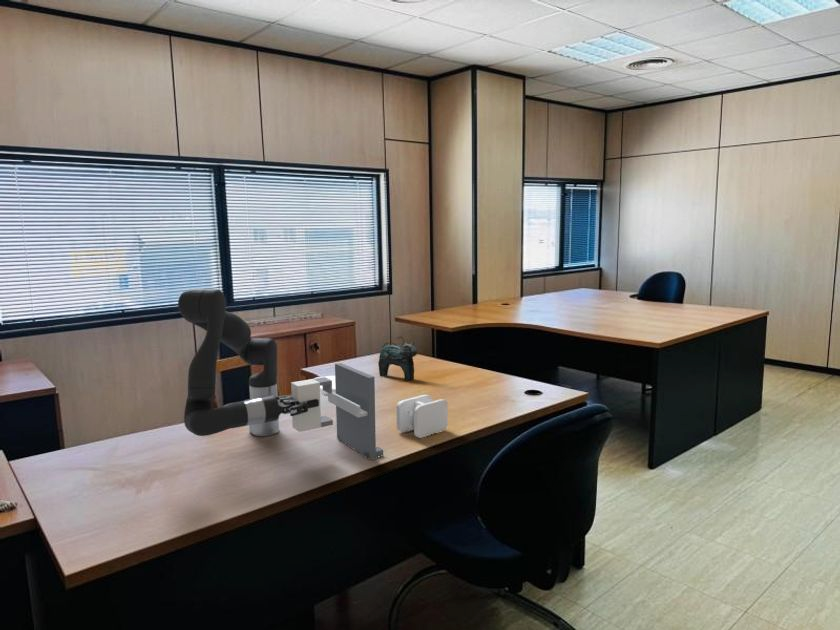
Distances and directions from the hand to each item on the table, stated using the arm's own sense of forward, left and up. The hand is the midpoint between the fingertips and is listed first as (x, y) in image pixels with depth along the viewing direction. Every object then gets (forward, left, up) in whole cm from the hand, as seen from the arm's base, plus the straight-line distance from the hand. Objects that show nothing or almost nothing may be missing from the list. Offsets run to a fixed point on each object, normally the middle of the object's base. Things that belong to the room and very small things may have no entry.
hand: (314, 400), depth 174 cm
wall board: (+6, +11, -19) cm, 23 cm away
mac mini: (-36, +72, -19) cm, 83 cm away
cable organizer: (+20, +34, -19) cm, 44 cm away
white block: (0, -1, -8) cm, 8 cm away
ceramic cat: (-20, +94, -19) cm, 98 cm away
